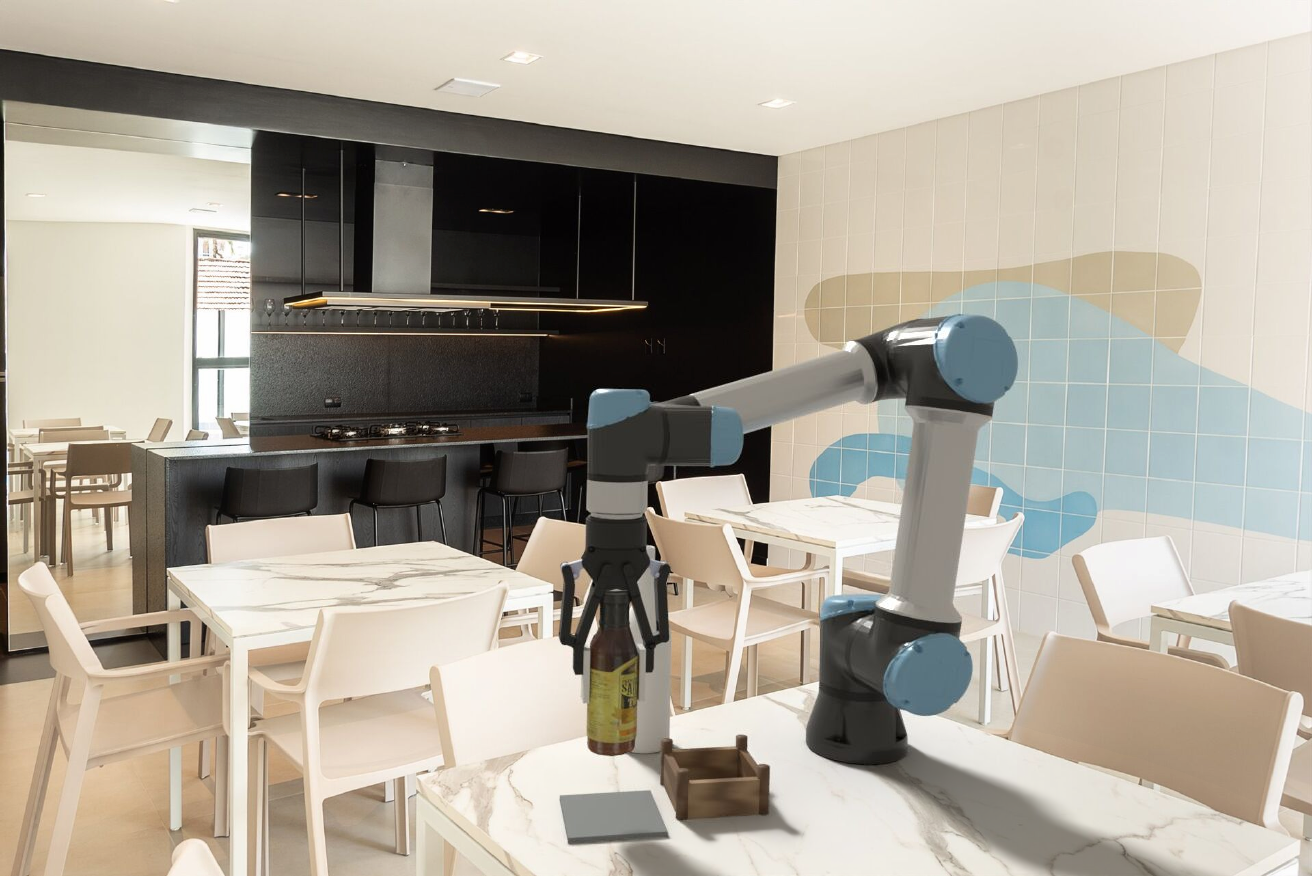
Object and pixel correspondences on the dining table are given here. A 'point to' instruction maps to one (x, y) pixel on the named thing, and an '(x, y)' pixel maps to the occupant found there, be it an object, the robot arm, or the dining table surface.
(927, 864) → the dining table surface
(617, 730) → the sauce bottle
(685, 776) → the corner post wooden tray
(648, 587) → the bottle
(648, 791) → the mat
